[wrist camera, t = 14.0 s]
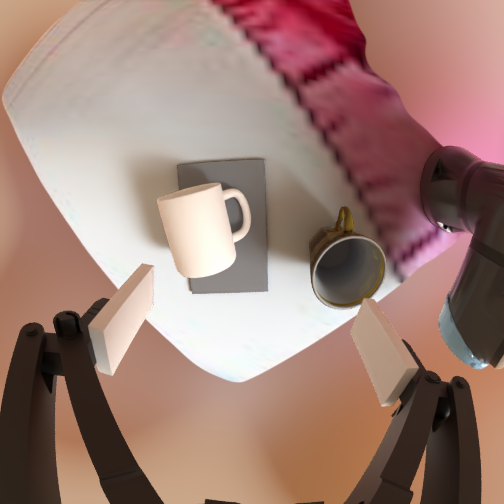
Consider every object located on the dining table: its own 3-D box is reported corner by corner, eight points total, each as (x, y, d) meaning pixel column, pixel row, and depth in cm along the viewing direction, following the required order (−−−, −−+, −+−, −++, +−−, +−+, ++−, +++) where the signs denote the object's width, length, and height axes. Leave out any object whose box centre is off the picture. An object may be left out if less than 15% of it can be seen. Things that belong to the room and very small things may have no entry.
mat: (267, 289, 43) (267, 291, 43) (192, 292, 44) (192, 293, 43) (264, 159, 36) (264, 159, 36) (178, 165, 36) (177, 165, 36)
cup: (171, 266, 38) (151, 199, 35) (243, 239, 43) (229, 176, 40) (188, 286, 32) (163, 202, 28) (272, 251, 36) (258, 175, 33)
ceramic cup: (358, 271, 43) (383, 303, 33) (299, 280, 43) (312, 315, 34) (358, 192, 38) (389, 207, 29) (293, 198, 38) (308, 214, 29)
